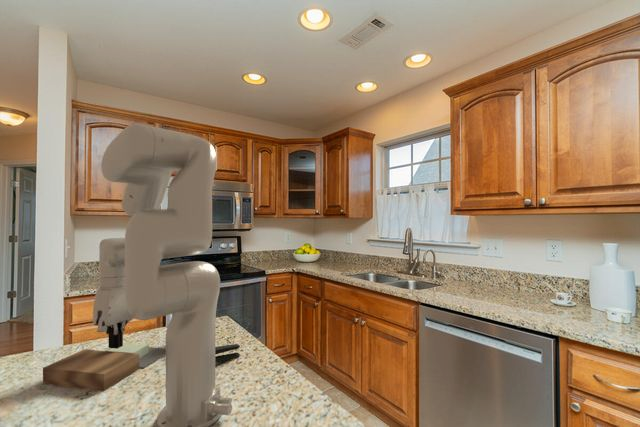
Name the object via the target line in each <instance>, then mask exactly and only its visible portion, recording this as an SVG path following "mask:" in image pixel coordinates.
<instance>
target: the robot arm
mask: <svg viewBox="0 0 640 427" xmlns="http://www.w3.org/2000/svg"><path fill="white" fill-rule="evenodd" d="M217 159H218V158H217V154H216V150H215V147H214V146H213V144H211V142H209V141H208V140H207V139H205V138H203V137H200V136H197V135H193V134H190V133H186V132H181V131H177V130H172V129H165V128H162V127H157V126H153V125H148V124H142V123H132V124H129V125H127V126H126V127H124V129H122V130H121V131H120V132H119V134H118V135H116V137H114V138H113V140H112V141H111V142H110V143H109V144H108V146H107V147H106V149H105V151H104V153H103V155H102V158H101V163H100V167H101V168H100V169H101V173H102V176H103V178H104V179H105V180H106V181H108V182H111V183H120V184H126V186H125V190H124V194H123V197H122V200H121V203H120V204H121V208H122V211H124V212H125V214H127V215H129V217H130V219H129V220H128V222H127V225H126V228H125V235H124V237H111V238H105V239H102V240H101V241H100V242H99V247H98V248H99V254H98V255H99V262H98V263H99V265H98V266H99V287H98V288H97V290H96V292H95V294H94V295H95V296H94V301H93V308H92V309H93V310H92V324H93V326H95V327H96V326H97V328H96V329H97V330H96V331H97V333H106V335H108V349H110V348H115V349H118V348H119V347H122V346H123V343H124V332H125V330H126V326H127V324H128V323H130V322H131V321H132V320H133V319H135V320H138V321H148V320H152V319H156V318H160V317H165V316H169V315H172V314H173V315H172V317H171V319H170V321H169V323H168V326H167V329H166V332H165V349H166V355H165V406H164V407H163V408H162V409H161V410H160V411H159V412H158V414H157V419H156V423H157V424H156V425H157V427H211V425H213V424H214V423H216V422H217V420H218V419H219V418H221V416H230V415H231V413H232V410H233V405H232V403H233V402H232V401H233V399H232V397H222V395H221V388H220V387H217V386H216V363H215V356H216V355H215V347H216V319H217V318H216V317H217V316H216V315H217V305H218V299H219V295H220V292H221V278H220V273H219V271H218V269H217V268H216V267H215V266H214V265H213V264H211V263H210V262H206V261H200V260H197V261H196V260H193V261H185V262H177V263H171V264H164V265H161V262H162V260H163V259H172V258H181V257H187V256H196V255H199V254H203V253H205V252H207V251H208V250H209V249H210V247H211V245H212V239H213V186H214V180H215V175H216V171H217ZM174 171H175V172H177V173H176V174H175V175H174V177H173V178H172V179H171V177H172V174H173V172H174ZM170 180H171V181H170ZM166 192H167V207H166V208H167V209H166V208H165V209H164V208H163V209H161V206H162V205H163V201H164V198H165V195H166Z"/></svg>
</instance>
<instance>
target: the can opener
mask: <svg viewBox="0 0 640 427" xmlns="http://www.w3.org/2000/svg"><path fill="white" fill-rule="evenodd" d="M240 348H241V345H240V344H237V343H235V344H225V345H219V346H215V364H217V363H224V362H228V361H231V360H235V359H237V358H239V357H240V356H241V354H240V353H239V352H232V353H227V354H226V353H225V352H229V351H235V350H238V349H240ZM223 353H225V354H223ZM218 354H220V355H218Z"/></svg>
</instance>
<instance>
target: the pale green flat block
mask: <svg viewBox="0 0 640 427" xmlns="http://www.w3.org/2000/svg"><path fill="white" fill-rule="evenodd" d="M149 347H150V346H149V343H148V344H147V343H134V342H133V343H132V342H131V343H130V342H123V346H122V347H119V348H118V349H115V348H111V349H110V348H108V349H109V350H108V349H106V350H107V351H108V352H120V353H131V354H139V358H140V357H142V356H144V355H145V354H147V353H149Z"/></svg>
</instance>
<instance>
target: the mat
mask: <svg viewBox="0 0 640 427" xmlns="http://www.w3.org/2000/svg"><path fill="white" fill-rule="evenodd" d="M109 349H111V348H108V349H105V351H107V350H109ZM164 356H166V347H165V348H164V347H152V346H149V353H147V354H145V355H144V356H142V357H140V358H139V369H145V367H146V368H147V367H148V366H150V365H152V364H153V363H155V362H157V361H158V360H160V359H161V358H163V357H164Z"/></svg>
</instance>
